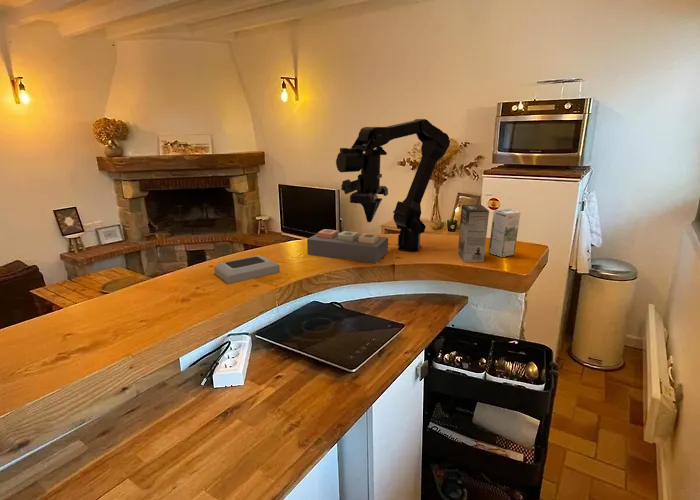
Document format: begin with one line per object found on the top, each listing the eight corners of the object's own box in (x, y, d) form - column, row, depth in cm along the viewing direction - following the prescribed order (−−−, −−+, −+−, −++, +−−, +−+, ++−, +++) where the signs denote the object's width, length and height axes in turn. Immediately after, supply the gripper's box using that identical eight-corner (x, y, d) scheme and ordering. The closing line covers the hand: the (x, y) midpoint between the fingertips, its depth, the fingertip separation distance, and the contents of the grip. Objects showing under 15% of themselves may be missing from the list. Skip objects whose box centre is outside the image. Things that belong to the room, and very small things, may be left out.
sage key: (358, 241, 135) (358, 232, 134) (352, 245, 131) (352, 235, 130) (343, 240, 137) (343, 230, 136) (337, 243, 132) (337, 234, 132)
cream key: (378, 244, 133) (379, 234, 132) (373, 248, 128) (374, 238, 127) (364, 242, 134) (364, 232, 134) (358, 246, 130) (358, 236, 129)
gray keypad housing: (387, 252, 136) (388, 237, 135) (376, 263, 125) (376, 247, 124) (323, 244, 144) (323, 230, 143) (307, 254, 134) (307, 239, 132)
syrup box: (501, 251, 139) (506, 207, 134) (515, 256, 133) (520, 211, 129) (488, 253, 136) (492, 209, 132) (501, 258, 131) (507, 212, 127)
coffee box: (456, 253, 136) (461, 204, 132) (476, 253, 136) (481, 204, 131) (463, 262, 127) (468, 210, 123) (484, 262, 127) (490, 210, 123)
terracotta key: (338, 239, 138) (338, 230, 137) (332, 243, 133) (332, 233, 132) (324, 237, 139) (324, 228, 138) (317, 241, 135) (317, 232, 134)
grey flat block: (279, 261, 116) (227, 272, 108) (279, 273, 117) (228, 285, 109) (263, 252, 124) (213, 262, 115) (264, 264, 125) (214, 275, 116)
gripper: (356, 166, 136) (355, 214, 140) (333, 172, 119) (333, 226, 124) (389, 168, 132) (387, 216, 136) (370, 174, 115) (368, 229, 120)
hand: (369, 222), depth 129 cm, fingers closed
